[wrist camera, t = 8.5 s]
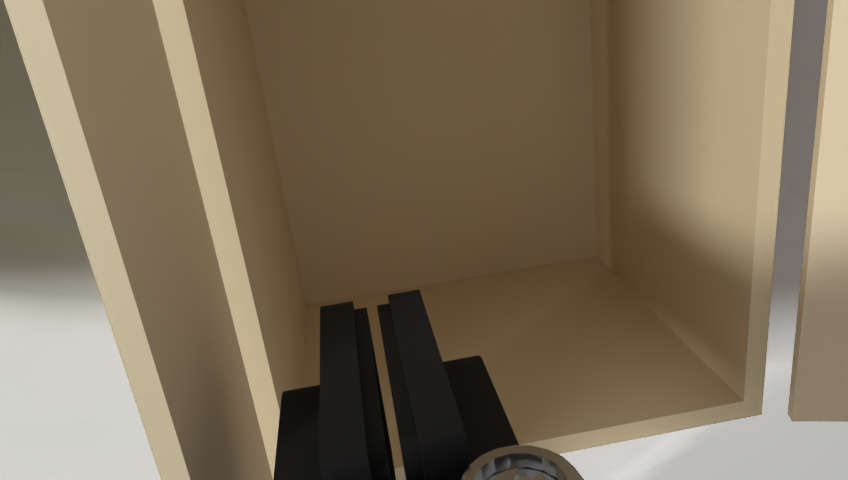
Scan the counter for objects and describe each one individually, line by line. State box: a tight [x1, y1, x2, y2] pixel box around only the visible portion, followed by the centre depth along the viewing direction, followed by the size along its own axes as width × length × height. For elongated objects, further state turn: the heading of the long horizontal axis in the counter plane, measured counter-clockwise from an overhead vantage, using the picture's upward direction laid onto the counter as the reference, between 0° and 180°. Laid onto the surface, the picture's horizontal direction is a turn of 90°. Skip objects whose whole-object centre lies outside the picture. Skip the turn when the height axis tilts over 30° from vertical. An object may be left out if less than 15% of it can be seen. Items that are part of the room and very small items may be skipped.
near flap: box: [4, 0, 273, 480], centre depth 10 cm, size 16×6×1 cm
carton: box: [152, 0, 795, 480], centre depth 18 cm, size 16×12×10 cm
